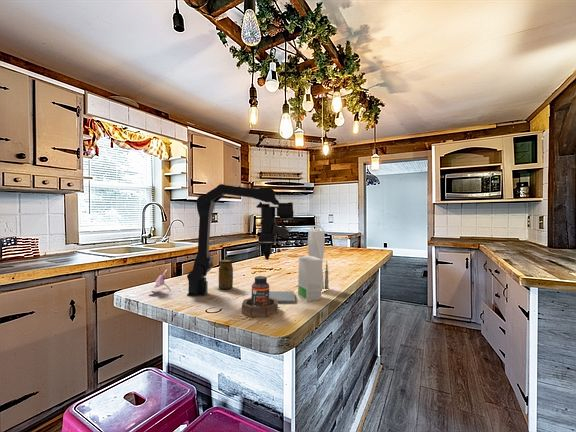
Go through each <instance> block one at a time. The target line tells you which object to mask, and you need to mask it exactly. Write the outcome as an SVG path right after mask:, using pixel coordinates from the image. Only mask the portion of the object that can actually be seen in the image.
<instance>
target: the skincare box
mask: <svg viewBox="0 0 576 432" xmlns="http://www.w3.org/2000/svg"><path fill="white" fill-rule="evenodd" d="M323 261H324V259H323V260H321V259H319V258H317V257H314V256H308V255H307V256H299V258H298V280H297V296H298V297H300V298H302V299H303V300H305V302H312V300H313V301H319V300H318V299H321V300H322V293H321V285H322V269H323Z"/></svg>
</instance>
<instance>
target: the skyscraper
mask: <svg viewBox="0 0 576 432" xmlns="http://www.w3.org/2000/svg"><path fill="white" fill-rule="evenodd" d="M316 227H317V228H316ZM307 232H308V233H307V236H308V237H307V256H314V257H317V258H319V259H321V260H323V261H324V257H325V256H324V254H325V246H326V245H325V243H326V241H325V239H326V238H325V230H324V228H323V227H321V226H319V225H311V226H310V228H309V229H308V231H307ZM325 262H326V263H325V270H324V269H323V268H322V285H321V291H322V289H324V288H325V289H329V290H330V287H329V270H328V260H326V261H325ZM323 270H324V271H323Z"/></svg>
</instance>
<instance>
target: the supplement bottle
mask: <svg viewBox="0 0 576 432" xmlns="http://www.w3.org/2000/svg"><path fill="white" fill-rule="evenodd" d="M267 280H268V279H267V276H263V275H257V276H255V277H254V282H253V283H252V284H251V297H250V298H251V306H268V305H269V291H270V284H269V283H268V282H267Z"/></svg>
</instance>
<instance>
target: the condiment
mask: <svg viewBox="0 0 576 432" xmlns="http://www.w3.org/2000/svg"><path fill="white" fill-rule="evenodd" d="M233 285H234V267H233V260H231V259H221V260H220V261H219V267H218V286H214V287H213V288H215V289H217V290H219V291H221V292H231V291H234V290H239V288H237V287H235V286H233Z"/></svg>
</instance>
